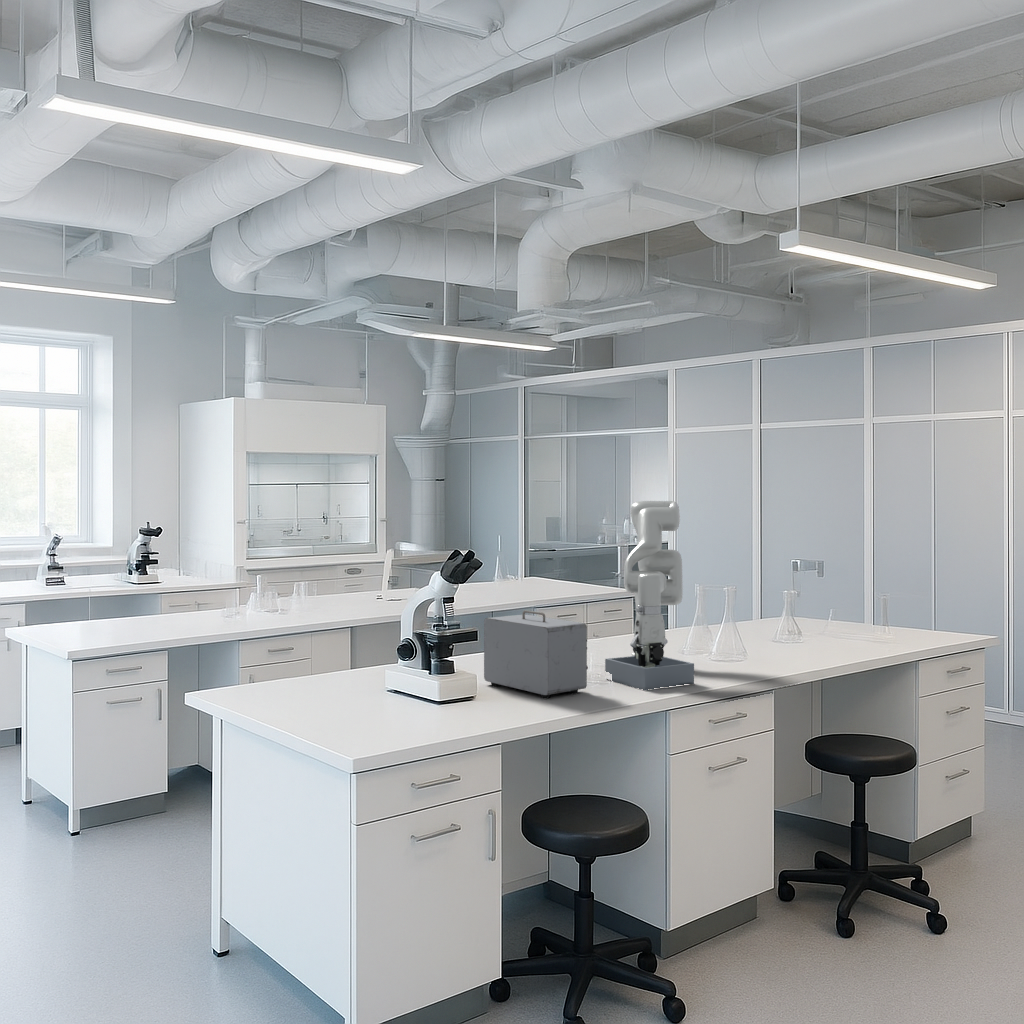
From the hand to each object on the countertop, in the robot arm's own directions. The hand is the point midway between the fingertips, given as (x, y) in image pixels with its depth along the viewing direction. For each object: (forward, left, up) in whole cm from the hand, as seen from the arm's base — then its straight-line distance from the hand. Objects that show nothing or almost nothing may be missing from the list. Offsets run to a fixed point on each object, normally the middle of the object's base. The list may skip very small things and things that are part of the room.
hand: (649, 664), depth 325 cm
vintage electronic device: (-9, -38, -6) cm, 40 cm away
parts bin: (0, 0, -6) cm, 6 cm away
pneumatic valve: (0, 0, -3) cm, 3 cm away
